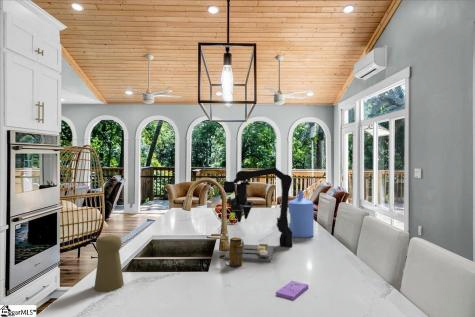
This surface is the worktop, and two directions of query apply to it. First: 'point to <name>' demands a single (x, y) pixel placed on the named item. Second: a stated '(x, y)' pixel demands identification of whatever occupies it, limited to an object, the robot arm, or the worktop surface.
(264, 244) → the slider
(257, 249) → the slider
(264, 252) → the button
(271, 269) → the worktop surface
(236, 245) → the condiment
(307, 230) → the water jug
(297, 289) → the sponges
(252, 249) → the panel
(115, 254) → the cork
